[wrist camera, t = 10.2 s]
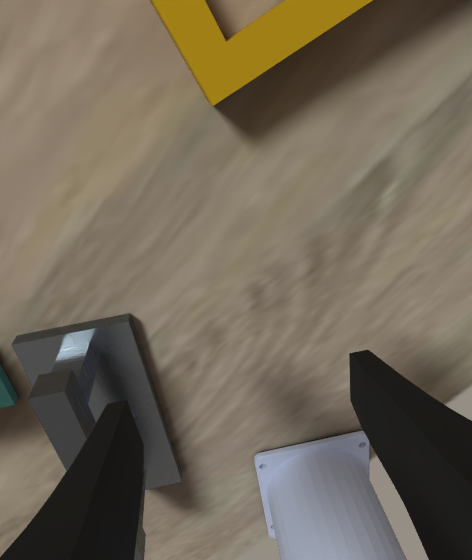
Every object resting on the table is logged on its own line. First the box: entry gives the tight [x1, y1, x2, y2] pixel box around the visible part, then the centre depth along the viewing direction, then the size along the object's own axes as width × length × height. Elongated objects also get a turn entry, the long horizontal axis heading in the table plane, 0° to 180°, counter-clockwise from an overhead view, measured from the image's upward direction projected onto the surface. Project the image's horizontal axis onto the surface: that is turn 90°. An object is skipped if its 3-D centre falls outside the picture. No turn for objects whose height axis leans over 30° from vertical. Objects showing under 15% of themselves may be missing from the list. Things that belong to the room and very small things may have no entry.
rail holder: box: [12, 314, 182, 560], centre depth 23 cm, size 13×6×5 cm, turn 9°
